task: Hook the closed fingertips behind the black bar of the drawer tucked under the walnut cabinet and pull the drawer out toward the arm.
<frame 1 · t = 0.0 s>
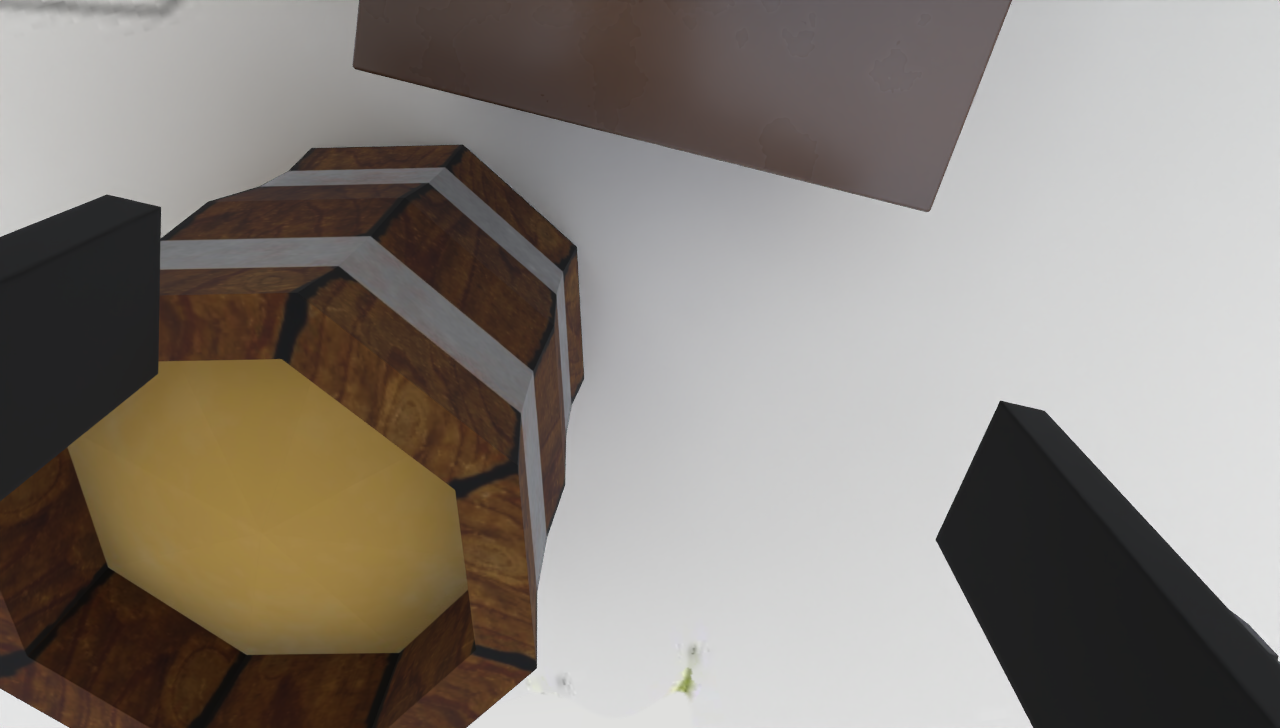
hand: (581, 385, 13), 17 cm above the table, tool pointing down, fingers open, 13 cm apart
mug 2: (342, 347, 32), on the table
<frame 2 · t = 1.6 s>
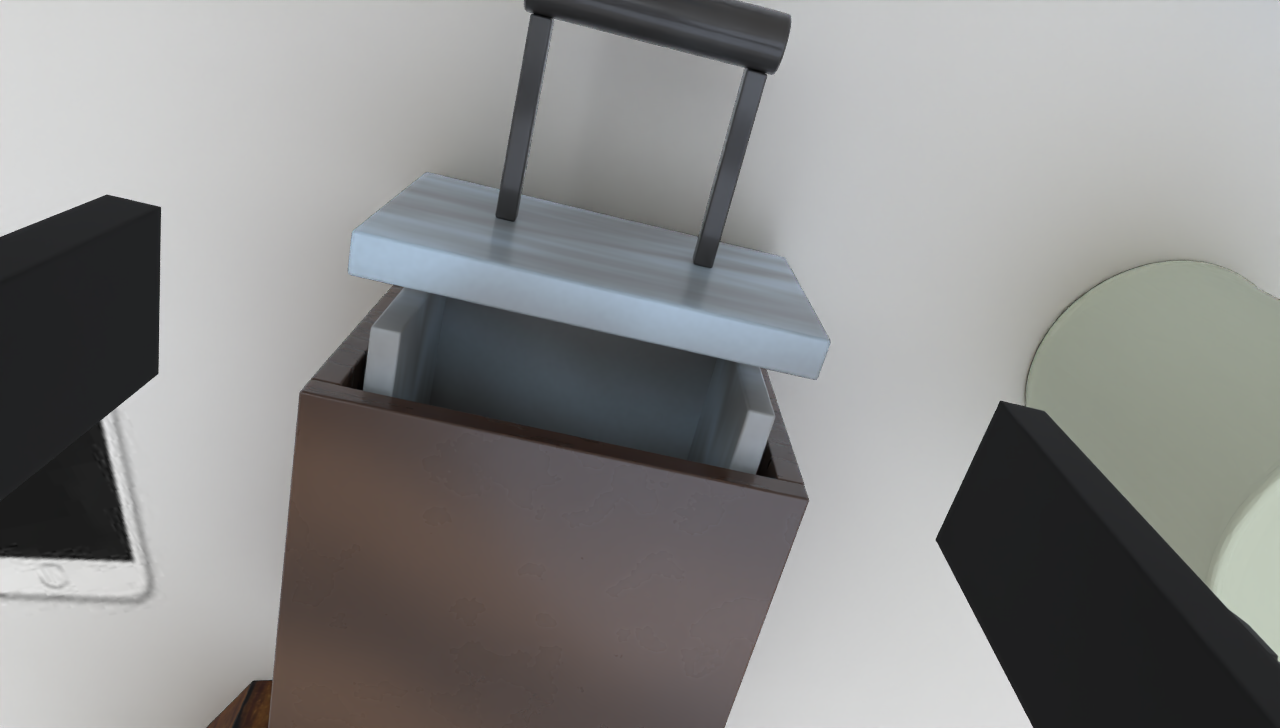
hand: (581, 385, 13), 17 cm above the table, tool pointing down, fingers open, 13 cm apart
drawer: (578, 355, 27), point 5 cm above the table, slide at 3.0 cm
can: (1146, 376, 32), on the table
cabinet: (543, 498, 34), on the table
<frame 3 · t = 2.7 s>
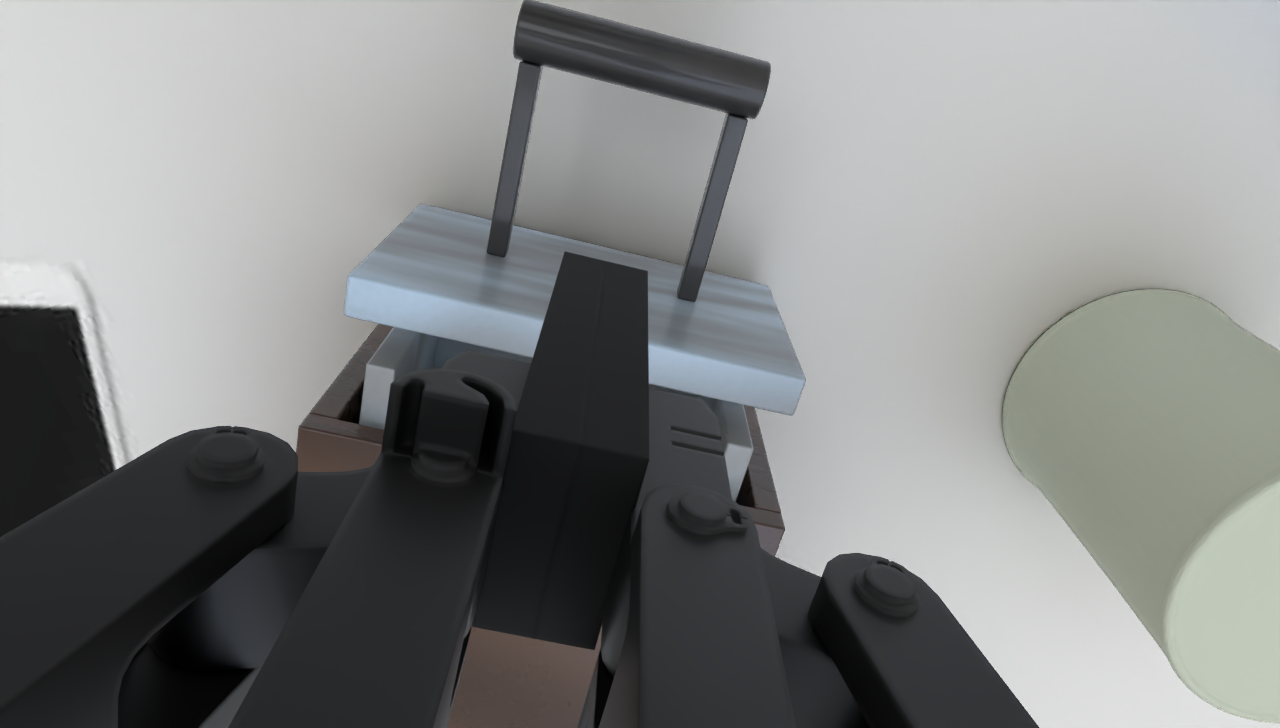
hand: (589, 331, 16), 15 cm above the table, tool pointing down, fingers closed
drawer: (567, 384, 28), point 5 cm above the table, slide at 3.0 cm
can: (1119, 398, 33), on the table
cabinet: (535, 512, 35), on the table
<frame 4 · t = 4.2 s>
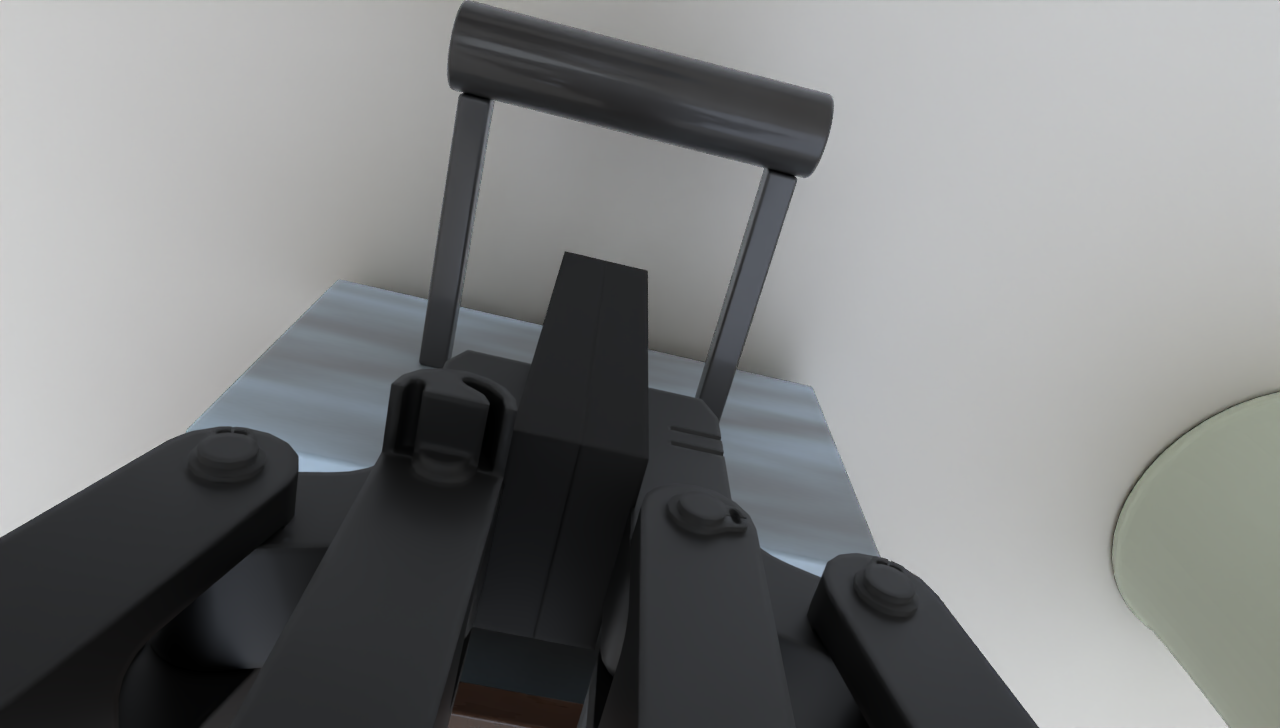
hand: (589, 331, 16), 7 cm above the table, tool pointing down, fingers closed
drawer: (537, 537, 20), point 5 cm above the table, slide at 3.0 cm
can: (1266, 521, 25), on the table
cabinet: (505, 657, 28), on the table
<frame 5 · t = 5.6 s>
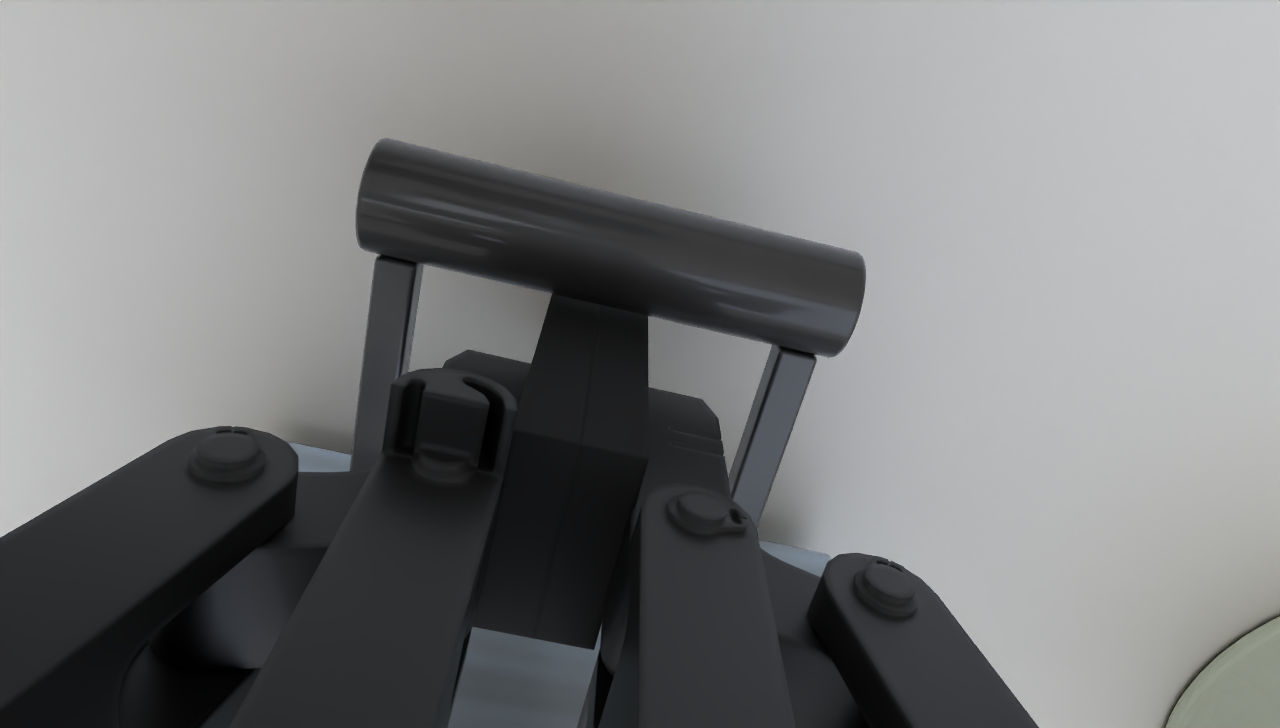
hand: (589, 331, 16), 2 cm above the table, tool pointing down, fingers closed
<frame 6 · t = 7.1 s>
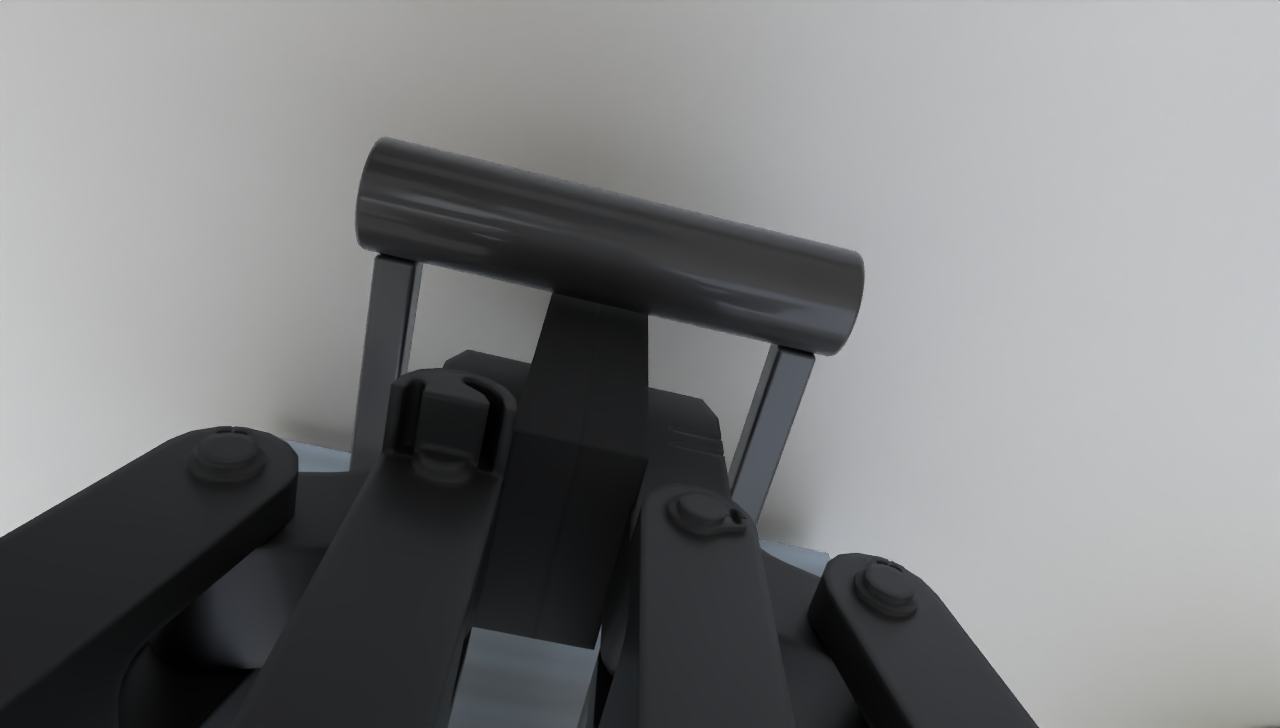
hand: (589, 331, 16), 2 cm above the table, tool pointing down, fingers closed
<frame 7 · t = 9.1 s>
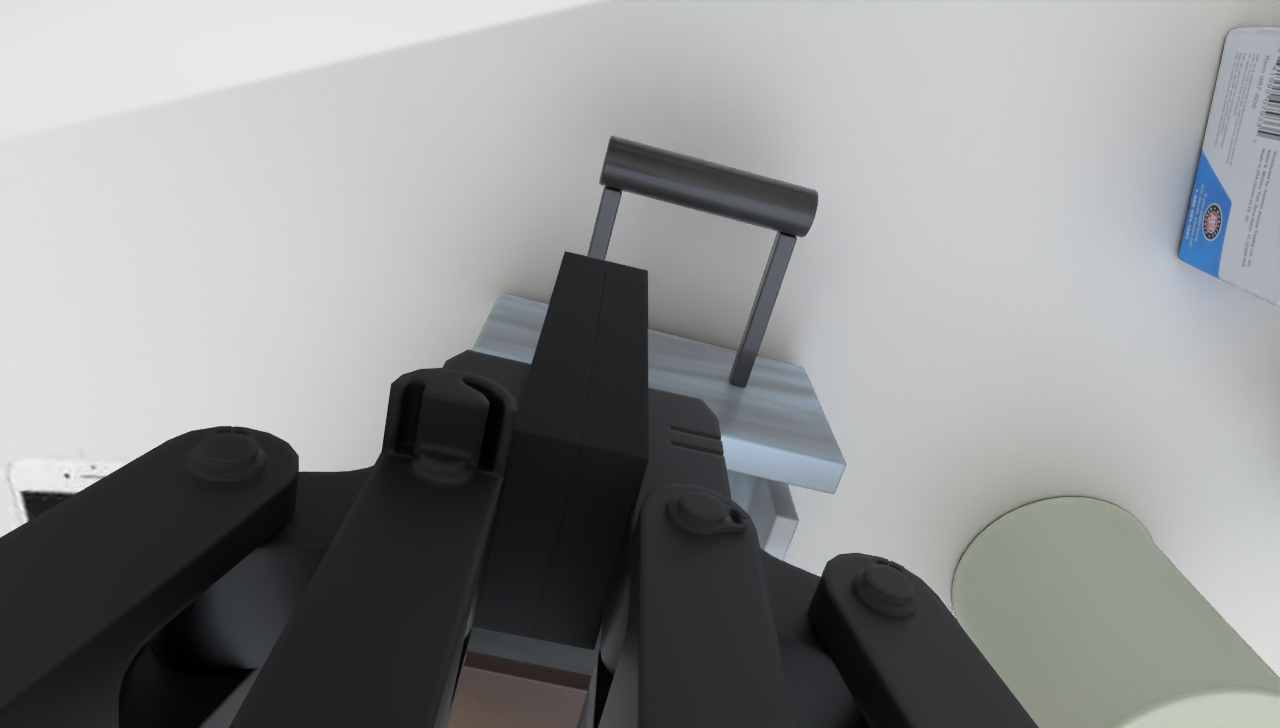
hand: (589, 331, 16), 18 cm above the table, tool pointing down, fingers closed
ink box: (1259, 146, 32), on the table
drawer: (631, 456, 31), point 5 cm above the table, slide at 9.1 cm
can: (1049, 578, 40), on the table
cabinet: (557, 661, 41), on the table
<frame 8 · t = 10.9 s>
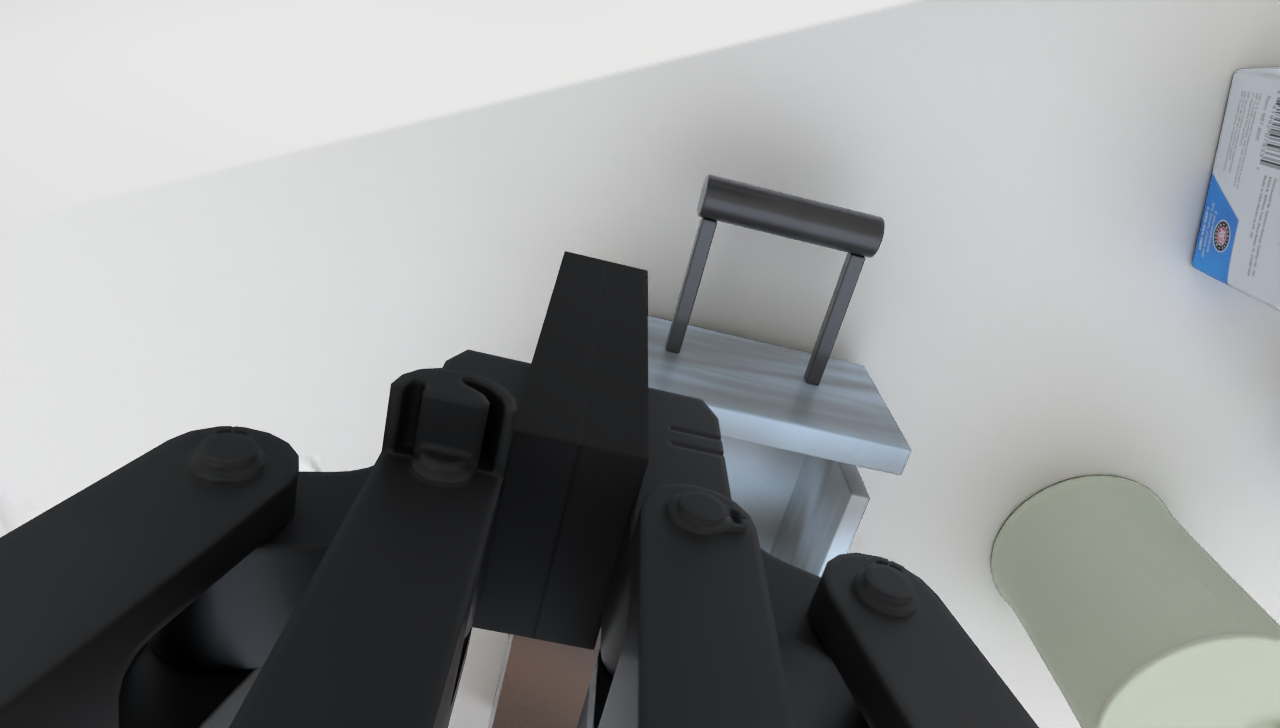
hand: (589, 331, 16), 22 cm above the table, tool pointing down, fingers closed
ink box: (1263, 168, 37), on the table
drawer: (719, 445, 37), point 5 cm above the table, slide at 9.1 cm
can: (1078, 548, 45), on the table
cabinet: (639, 627, 47), on the table
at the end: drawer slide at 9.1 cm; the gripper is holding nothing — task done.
